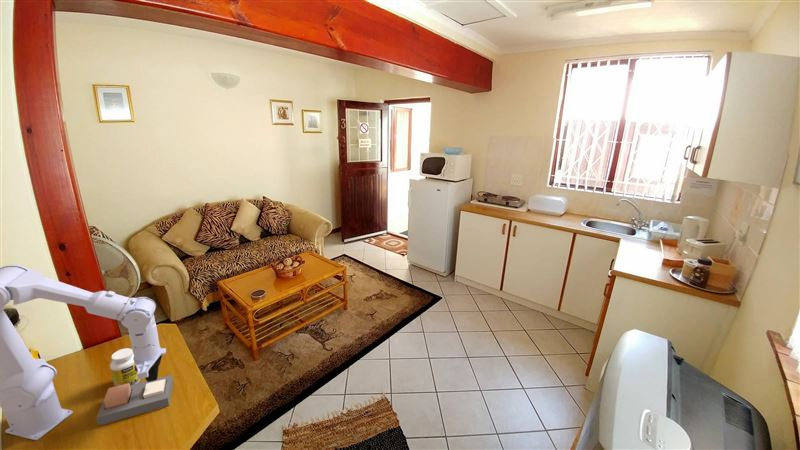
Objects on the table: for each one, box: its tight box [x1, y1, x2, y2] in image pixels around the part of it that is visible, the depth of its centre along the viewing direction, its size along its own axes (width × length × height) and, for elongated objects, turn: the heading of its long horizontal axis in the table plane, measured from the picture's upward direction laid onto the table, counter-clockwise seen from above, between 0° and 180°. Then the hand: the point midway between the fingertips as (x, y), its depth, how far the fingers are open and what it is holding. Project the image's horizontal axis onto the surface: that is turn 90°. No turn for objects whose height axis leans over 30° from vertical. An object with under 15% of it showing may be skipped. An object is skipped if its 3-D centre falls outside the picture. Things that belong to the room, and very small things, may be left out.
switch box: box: [96, 374, 174, 427], centre depth 87 cm, size 15×9×3 cm, turn 119°
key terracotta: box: [103, 383, 131, 409], centre depth 84 cm, size 4×4×3 cm
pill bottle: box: [109, 347, 141, 387], centre depth 92 cm, size 6×6×11 cm
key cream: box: [143, 379, 166, 399], centre depth 89 cm, size 4×4×3 cm
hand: (152, 379), depth 87 cm, fingers closed
